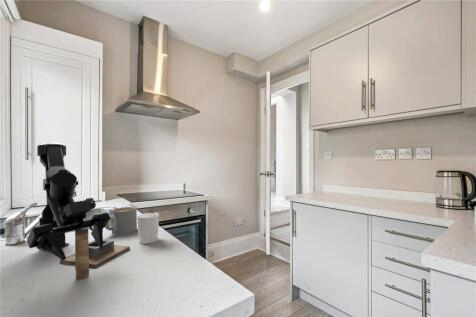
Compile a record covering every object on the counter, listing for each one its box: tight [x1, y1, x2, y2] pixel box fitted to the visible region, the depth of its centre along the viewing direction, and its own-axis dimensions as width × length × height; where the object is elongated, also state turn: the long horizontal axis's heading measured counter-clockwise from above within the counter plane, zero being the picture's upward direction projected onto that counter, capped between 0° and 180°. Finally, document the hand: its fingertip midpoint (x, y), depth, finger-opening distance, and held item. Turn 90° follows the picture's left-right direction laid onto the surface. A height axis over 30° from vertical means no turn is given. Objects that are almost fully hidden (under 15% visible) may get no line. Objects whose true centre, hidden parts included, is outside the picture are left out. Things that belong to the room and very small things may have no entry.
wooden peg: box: [74, 227, 90, 281], centre depth 61 cm, size 3×3×13 cm
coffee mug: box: [104, 206, 138, 236], centre depth 99 cm, size 13×10×10 cm
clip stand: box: [59, 239, 131, 269], centre depth 75 cm, size 14×14×4 cm
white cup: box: [137, 212, 160, 245], centre depth 88 cm, size 8×8×10 cm
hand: (84, 252), depth 61 cm, fingers open, 9 cm apart
